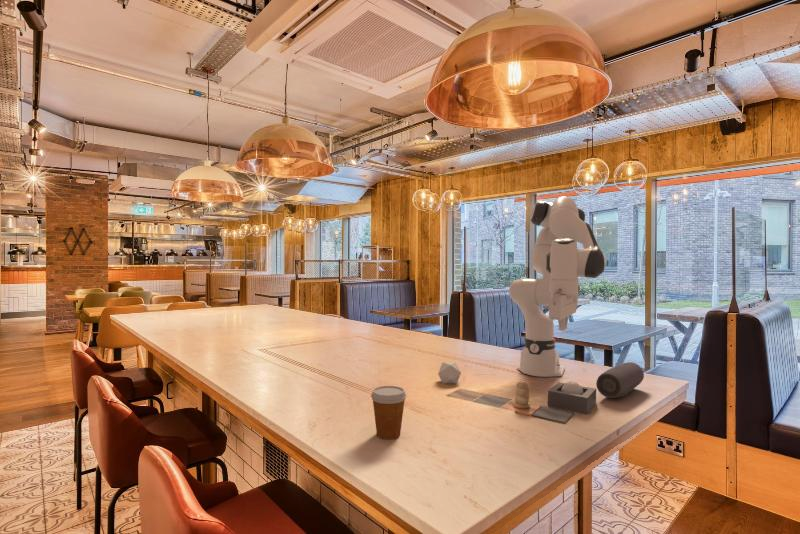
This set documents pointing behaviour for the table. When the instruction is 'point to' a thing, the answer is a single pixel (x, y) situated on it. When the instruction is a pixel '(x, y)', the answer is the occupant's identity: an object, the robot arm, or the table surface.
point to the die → (449, 373)
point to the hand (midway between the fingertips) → (563, 329)
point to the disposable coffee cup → (388, 410)
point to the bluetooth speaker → (619, 380)
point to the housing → (572, 399)
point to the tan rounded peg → (522, 395)
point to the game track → (497, 401)
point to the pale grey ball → (572, 388)
